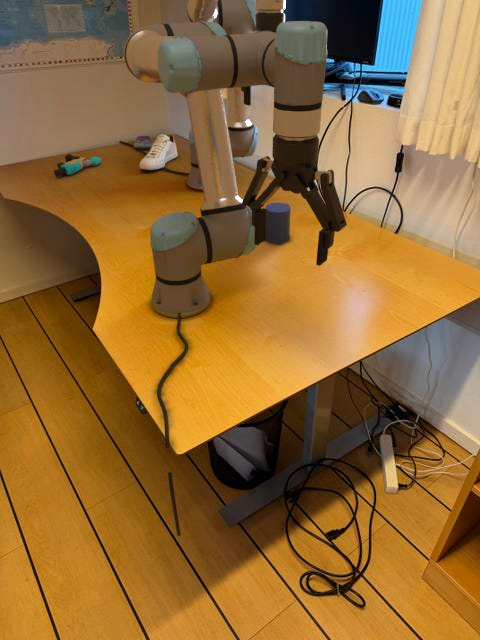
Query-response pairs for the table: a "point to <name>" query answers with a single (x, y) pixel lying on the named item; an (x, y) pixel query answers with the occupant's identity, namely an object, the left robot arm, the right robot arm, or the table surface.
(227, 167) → the left robot arm
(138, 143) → the toy gun
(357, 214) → the table surface
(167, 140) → the sneaker
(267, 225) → the can
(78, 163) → the toy gun
